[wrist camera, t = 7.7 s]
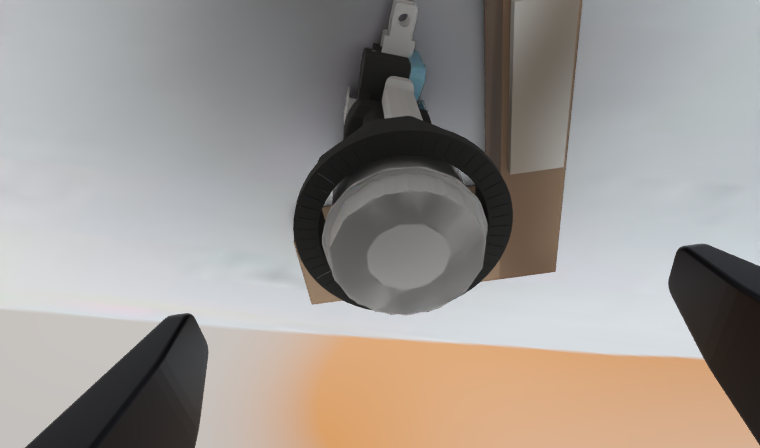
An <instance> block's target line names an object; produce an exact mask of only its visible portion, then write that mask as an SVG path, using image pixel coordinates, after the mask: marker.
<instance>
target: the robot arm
mask: <svg viewBox="0 0 760 448" xmlns="http://www.w3.org/2000/svg"><path fill="white" fill-rule="evenodd" d="M668 285H669V290H670V293H671V295H672V297H673V299H674V301H675V303H676V305H677V307H678V309H679V311H680V313H681V315H682V317H683V319H684V321H685V323H686V325H687V327H688V329H689V331H690V333H691V334H692V336H693V338H694V340H695V342H696V344H697V346H698V348H699V350H700V352H701V354H702V356H703V358H704V359H705V361H706V363H707V365H708V366H709V368H710V370H711V371H712V373H713V374H714V376H715V378H716V379H717V381H718V382H719V384H720V385H721V387H722V388H723V390H724V391H725V393H726V394H727V396H728V397H729V399H730V400H731V402H732V404H733V405H734V407H735V408H736V410H737V411H738V413H739V414H740V416H741V417H742V419H743V420H744V422H745V423H746V425H747V427H748V428H749V430H750V431H751V433H752V434H753V436H754V437H755V439H756V440H757V442H758V443H759V445H760V266H758V265H755V264H753V263H751V262H748V261H746V260H743V259H741V258H738V257H736V256H734V255H731V254H729V253H726V252H724V251H722V250H719V249H717V248H714V247H712V246H710V245H707V244H695V245H687V246H682V247H680V248H679V249H678V250H677V252H676V255H675V259H674V262H673V266H672V269H671V273H670V277H669V281H668ZM207 361H208V345H207V342H206V340H205V338H204V336H203V334H202V332H201V330H200V328H199V326H198V324H197V321H196V319H195V318H194V316H193V315H192V314H189V313H185V314H177V315H171V316H168V317H167V318H165V319H164V320H163V321H162V322H161V323H160V324H159V325H158V326H157V327H155V329H153V330H152V331H151V332H150V333H149V334H148V335H147V336H146V337H145V338H144V339H143V340H141V341H140V342H139V343H138V344H137V345H136V346H135V347H134V348H133V349H132V350H130V352H129V353H127V354H126V355H125V356H124V357H123V358H122V359H121V360H120V361H119V362H118V363H116V364H115V365H114V366H113V367H112V368H111V369H110V370H109V371H108V372H107V373H106V374H104V375H103V376H102V377H101V378H100V379H99V380H98V381H97V382H96V383H95V384H94V385H93V386H91V388H89V389H88V390H87V391H86V392H85V393H84V394H83V395H82V396H81V397H80V398H78V399H77V400H76V401H75V402H74V403H73V404H72V405H71V406H70V407H69V408H68V409H66V410H65V411H64V412H63V413H62V414H61V415H60V416H59V417H58V418H57V419H56V420H55V421H53V423H51V424H50V425H49V426H48V427H47V428H46V429H45V430H44V431H43V432H41V433H40V434H39V435H38V436H37V437H36V438H35V439H34V440H33V441H32V442H31V443H30V444H28V445H27V446H26V447H25V448H195V445H196V440H197V435H198V430H199V424H200V417H201V409H202V401H203V392H204V385H205V377H206V369H207Z"/></svg>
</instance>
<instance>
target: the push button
mask: <svg viewBox="0 0 760 448" xmlns="http://www.w3.org/2000/svg"><path fill="white" fill-rule="evenodd" d="M418 10H419V9H418V7H417V6H415V3H414V1H409V0H393V4H392V9H391V14H390V19H389V24H388V29H387V30H386V29H383V32H382V37H381V43H380V44H377V43H374V44H373V47H372V49H369V48H364V51H363V56H362V61H361V68H360V77H359V87H358V94H357V99H355V98H351V97H350V87H349V86H348V90H347V96H346V102H345V107H344V124H343V125H344V140H343V141H341V142H340V143H339V144H337V145H336V146H334V147H333V148H332V149H330V150H329V151H327V152H326V153H325V154H323V155H322V156H321V157H320V159H319V160H318V163H317V164H316V165H315V167H314V168H313V169H312V171H311V172H310V173H309V175H308V177H307V178H306V180H305V182H304V184H303V186H302V188H301V190H300V193H299V196H298V200H297V203H296V209H295V215H294V226H293V230H294V240H295V244H296V248H297V251H298V254H299V257H300V259H301V261H302V263H303V265H304V266H305V268H306V269H307V271H308V272H309V274H310V275H311V276H312V277H313V278H314V280H315V281H316V282H317V283H318V284H320V285H321V286H322V287H323V288H324V289H325V290H327V291H328V292H329V293H331V294H332V295H334V296H336V297H337V298H339V299H341V300H343V301H345V302H347V303H350V304H352V305H355V306H358V307H361V308H365V309H369V310H373V311H375V312H383V313H387V314H390V315H394V314H401V315H411V314H415V313H420V312H429V311H431V310H434V309H438V308H440V307H442V306H443V305H445V304H447V303H448V302H450V301H452V300H453V299H455V298H457V297H459V296H461V295H463V294H465V293H466V292H468V291H469V290H471V289H472V288H473V287H475V286H476V285H477V284H478V283H480V282H481V281H482V280H483V279H484V278H485V277H486V276H487V275H488V274H489V273H490V272H491V271H492V269H493V268H494V267H495V266H496V264H497V263H498V261H499V260H500V258H501V257H502V255H503V253H504V251H505V249H506V246H507V244H508V242H509V238H510V235H511V231H512V224H513V207H512V201H511V197H510V193H509V190H508V188H507V185H506V183H505V181H504V179H503V177H502V175H501V174H500V172H499V170H498V168H497V167H496V166H495V164H494V163H493V161H492V160H491V159H490V158H489V157H488V156H487V155H486V154H485V153H484V152H483V151H482V150H481V149H480V148H479V147H477V146H476V145H475V144H473V143H472V142H470V141H469V140H467V139H466V138H464V137H462V136H459V135H457V134H455V133H453V132H450V131H447V130H444V129H442V128H440V127H437V126H435V125H432V124H431V121H430V118H429V115H428V110H426V107H425V104H424V101H423V100H421V101H420V104H419V107H418V101H419V97H420V93H421V90H422V89H423V85H424V81H425V77H426V66H425V65H424V64H423V62H422V60H421V57H420V55H419V53H418V52H415V51H414V47H415V42H416V41H413V40H412V37H413V32H414V28H415V23H416V19H417V15H418ZM402 14H407V18H406V19H405V20H404V21H399V20H398V19H399V16H400V15H402ZM457 168H458V169H460V170H461V171H462V172H463V173H465V174H466V175H467V176H468V177H469V178H470V179H471V180H472V181H473V182H474V183H475V194H473V193H472V192H471V191H470V190H469V189H468V188H467V187H466V186H465V185H464V183H463V180H462V178H461V175H460V173H459V171H458V170H457ZM332 190H333V202H332V207H331V208H330V210H329V212H328V214H327V217H326V220H325V218H324V215H323V211H322V208H323V205H324V203H325V201H326V199H327V198H328V196H329V195H330V193H331V192H332Z"/></svg>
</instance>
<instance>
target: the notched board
mask: <svg viewBox="0 0 760 448" xmlns="http://www.w3.org/2000/svg"><path fill="white" fill-rule="evenodd" d="M581 9H582V0H484V36H485V154H486V155H487V156H488V157H489V158H490V159H491V160H492V161H493V163H494V164H495V166H496V167H497V168H498V170H499V172H500V174H501V175H502V177H503V179H504V181H505V183H506V185H507V188H508V190H509V193H510V197H511V201H512V207H513V224H512V231H511V235H510V238H509V242H508V244H507V246H506V249H505V251H504V253H503V255H502V257H501V258H500V260H499V261H498V263H497V264H496V266H495V267H494V268H493V269H492V271H491V272H490V273H489V274H488V275H487V276H486V277H485V278H484V279H483V280H482V281H481V282H483V281H490V280H497V279H505V278H512V277H520V276H527V275H535V274H542V273H549V272H555V270H556V260H557V250H558V240H559V230H560V220H561V210H562V200H563V190H564V180H565V170H566V160H567V150H568V140H569V130H570V119H571V109H572V99H573V89H574V79H575V69H576V59H577V49H578V39H579V29H580V19H581ZM467 188H468V189H469V190H470V191H471V192H472V193H473V194H475V186H469V187H467ZM331 207H332V206H327V207H323V208H322V211H323V215H324V218H325V220H326V217H327V214H328V212H329V210H330V208H331ZM294 245H295V248H296V244H295V240H294ZM296 252H297V255H298V259H299V262H300V265H301V269H302V272H303V276H304V279H305V283H306V286H307V290H308V293H309V296H310V300H311V303H312V304H319V303H327V302H334V301H342V300H341V299H339V298H337V297H336V296H334V295H332V294H331V293H329V292H328V291H327V290H325V289H324V288H323V287H322V286H321V285H320V284H318V283H317V282H316V281H315V280H314V278H313V277H312V276H311V275H310V274H309V272H308V271H307V269H306V268H305V266H304V265H303V263H302V261H301V259H300V257H299V254H298V251H297V248H296Z"/></svg>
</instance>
